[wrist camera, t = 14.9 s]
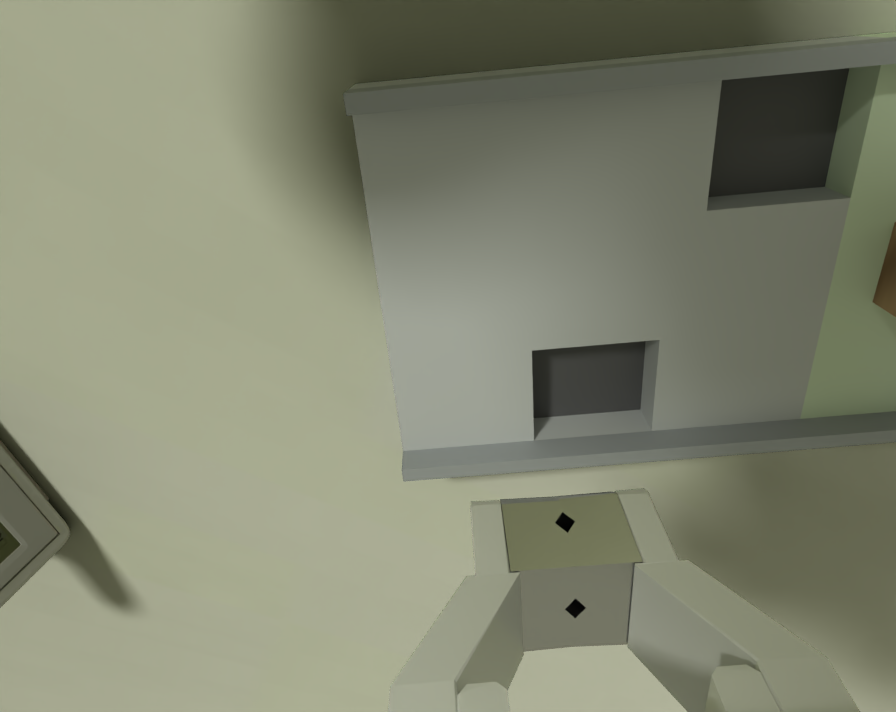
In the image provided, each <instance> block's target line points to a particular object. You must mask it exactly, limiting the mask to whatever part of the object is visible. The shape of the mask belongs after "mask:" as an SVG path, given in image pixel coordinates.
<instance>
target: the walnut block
mask: <svg viewBox="0 0 896 712" xmlns="http://www.w3.org/2000/svg"><path fill="white" fill-rule="evenodd" d="M873 303H875V304H876V305H878V306H879V307H881V308H882V309H884V310H885V311H887V312H888V313H890V314H892V315H893V316H895V317H896V222H895V223H894V227H893V230H892V234H891V237H890V241H889V245H888V248H887V252H886V255H885V259H884V262H883V266H882V270H881V273H880V277H879V280H878V284H877V287H876V291H875V295H874V298H873Z"/></svg>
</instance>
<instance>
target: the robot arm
mask: <svg viewBox="0 0 896 712" xmlns="http://www.w3.org/2000/svg"><path fill="white" fill-rule="evenodd" d="M470 512H471V526H472V540H473V555H474V569H475V575H474V576H466V577H465V579H464V580H463V582H462V583H461V585H460V586H459V587H458V589H457V590H456V592H455V593H454V595H453V596H452V598H451V599H450V600H449V602H448V603H447V605H446V606H445V608H444V609H443V610H442V612H441V613H440V615H439V616H438V618H437V619H436V621H435V622H434V623H433V625H432V626H431V628H430V629H429V631H428V632H427V634H426V635H425V636H424V638H423V639H422V641H421V642H420V644H419V645H418V647H417V648H416V649H415V651H414V652H413V654H412V655H411V657H410V658H409V659H408V661H407V662H406V664H405V665H404V667H403V668H402V670H401V671H400V672H399V674H398V675H397V677H396V678H395V680H394V681H393V683H392V684H391V685H390V693H389V706H388V712H510V706H509V698H508V688H509V686H510V684H511V682H512V680H513V677H514V675H515V673H516V671H517V668H518V666H519V664H520V662H521V660H522V657H523V655H524V653H523V652H524V651H534V650H544V649H554V648H564V647H575V646H599V645H623V644H628V646H627V647H628V648H629V649H630V650H631V651H632V652H633V653H634V655H635V656H636V657H637V658H638V659H639V660H640V661H641V662H642V663H643V664H644V665H645V666H646V667H647V668H648V670H649V671H650V672H651V673H652V674H653V675H654V676H655V677H656V678H657V679H658V680H659V681H660V682H661V684H662V685H663V686H664V687H665V688H666V689H667V690H668V691H669V692H670V693H671V694H672V695H673V696H674V698H675V699H676V700H677V701H678V702H679V703H680V704H681V705H682V706H683V707H684V708H685V709H686V710H687V711H688V712H860V711H859V709H858V707H857V706H856V704H855V703H854V701H853V699H852V698H851V696H850V694H849V693H848V691H847V689H846V688H845V686H844V685H843V683H842V681H841V680H840V678H839V676H838V675H837V673H836V671H835V670H834V668H833V667H832V665H831V663H830V662H829V660H828V658H827V657H826V656H824V655H823V654H822V653H820V652H819V651H817V650H816V649H814V648H813V647H812V646H810V645H809V644H807V643H806V642H804V641H803V640H802V639H800V638H799V637H797V636H796V635H795V634H793V633H792V632H790V631H789V630H787V629H786V628H785V627H783V626H782V625H780V624H779V623H777V622H776V621H775V620H773V619H772V618H770V617H769V616H768V615H766V614H765V613H763V612H762V611H760V610H759V609H758V608H756V607H755V606H753V605H752V604H750V603H749V602H748V601H746V600H745V599H743V598H742V597H740V596H739V595H738V594H736V593H735V592H733V591H732V590H731V589H729V588H728V587H726V586H725V585H723V584H722V583H721V582H719V581H718V580H716V579H715V578H713V577H712V576H711V575H709V574H708V573H706V572H705V571H703V570H702V569H701V568H699V567H698V566H696V565H695V564H694V563H692V562H691V561H689V560H679V559H678V556H677V554H676V552H675V550H674V548H673V546H672V543H671V541H670V539H669V537H668V535H667V532H666V530H665V528H664V526H663V524H662V521H661V519H660V517H659V515H658V513H657V510H656V508H655V506H654V504H653V502H652V499H651V497H650V495H649V493H648V491H646V490H645V489H644V488H641V489H631V490H620V491H615V492H602V493H590V494H578V495H566V496H555V497H536V498H517V499H500V501H499V500H491V501H471V506H470Z"/></svg>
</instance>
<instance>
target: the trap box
mask: <svg viewBox="0 0 896 712" xmlns="http://www.w3.org/2000/svg"><path fill="white" fill-rule="evenodd" d="M343 96H344V103H345V109H346V115H347V116H350V115H352V117H353V124H354V131H355V137H356V144H357V150H358V157H359V164H360V170H361V177H362V183H363V190H364V196H365V203H366V210H367V216H368V223H369V229H370V236H371V243H372V249H373V256H374V262H375V269H376V276H377V282H378V289H379V295H380V302H381V309H382V315H383V322H384V328H385V335H386V342H387V348H388V355H389V361H390V368H391V374H392V381H393V388H394V394H395V401H396V407H397V414H398V421H399V427H400V434H401V440H402V447H403V459H402V475H403V481H416V480H428V479H441V478H453V477H466V476H478V475H491V474H504V473H516V472H529V471H541V470H554V469H566V468H579V467H591V466H604V465H616V464H629V463H642V462H654V461H667V460H679V459H692V458H704V457H717V456H729V455H742V454H755V453H767V452H780V451H792V450H805V449H817V448H830V447H842V446H855V445H867V444H880V443H893V442H896V317H895V316H893V315H892V314H890V313H888V312H887V311H885V310H884V309H882V308H881V307H879V306H878V305H876V304H875V303H873V298H874V295H875V291H876V287H877V284H878V280H879V277H880V273H881V270H882V266H883V262H884V259H885V255H886V252H887V248H888V245H889V241H890V237H891V234H892V230H893V227H894V223H895V222H896V32H888V33H878V34H868V35H857V36H847V37H837V38H826V39H816V40H805V41H795V42H785V43H774V44H764V45H753V46H743V47H733V48H722V49H712V50H702V51H691V52H681V53H670V54H660V55H650V56H639V57H629V58H618V59H608V60H598V61H587V62H577V63H567V64H556V65H546V66H535V67H525V68H515V69H504V70H494V71H483V72H473V73H463V74H452V75H442V76H432V77H421V78H411V79H400V80H390V81H380V82H369V83H359V84H354V85H353V86H352V87H351V88H349V89H348V90H347V91H346V92H345V93H343Z"/></svg>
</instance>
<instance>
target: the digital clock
mask: <svg viewBox="0 0 896 712" xmlns="http://www.w3.org/2000/svg"><path fill="white" fill-rule="evenodd" d="M48 500H49V498H48V496H47V495H46V494H45V493H44V492H43V491H42V489H41V488H40V487H39V486H38V485H37V483H36V482H35V481H34V480H33V479H32V477H31V476H30V475H29V474H28V473H27V471H26V470H25V469H24V468H23V467H22V465H21V464H20V463H19V462H18V461H17V459H16V458H15V457H14V456H13V455H12V453H11V452H10V451H9V450H8V449H7V447H6V446H5V445H4V444H3V443H2V441H1V440H0V608H1V607H2V606H3V605H4V604H5V603H6V602H7V601H8V600H9V599H10V598H11V597H12V596H13V595H14V594H15V593H16V592H17V591H18V590H19V589H20V588H21V587H22V586H23V585H24V584H25V583H26V582H27V581H28V580H29V579H30V578H31V577H32V576H33V575H34V574H35V573H36V572H37V571H38V570H39V569H40V568H41V567H42V566H43V565H44V564H45V563H46V562H47V561H48V560H49V559H50V558H51V557H52V556H53V555H54V554H55V553H56V552H57V551H58V550H59V549H60V548H61V547H62V546H63V545H64V544H65V543H66V542H67V540H68V539H69V536H70V529H69V527H68V525H67V523H66V522H65V521H64V520H63V518H62V517H61V516H60V515H59V514H58V512H57V511H56V510H55V509H54V508H53V506H52V505H51V504H50V503H49V502H48Z"/></svg>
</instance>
